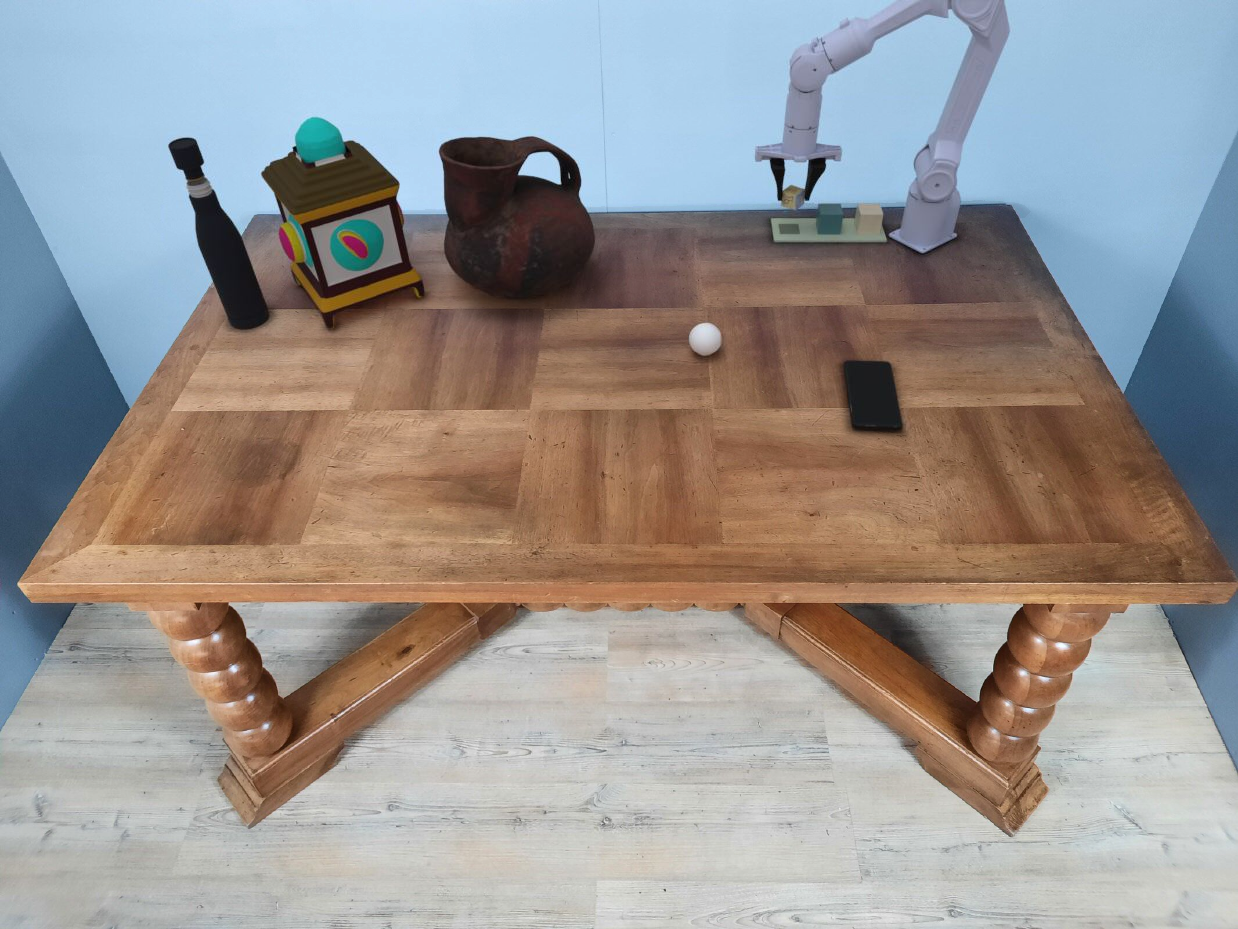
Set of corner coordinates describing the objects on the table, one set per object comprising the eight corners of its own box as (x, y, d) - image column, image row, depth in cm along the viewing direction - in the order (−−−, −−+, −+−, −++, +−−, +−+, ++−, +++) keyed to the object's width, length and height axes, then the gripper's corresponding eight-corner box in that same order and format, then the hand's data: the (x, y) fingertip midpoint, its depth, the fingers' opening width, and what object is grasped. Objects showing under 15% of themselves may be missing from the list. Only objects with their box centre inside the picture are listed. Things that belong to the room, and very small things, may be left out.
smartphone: (852, 426, 121) (843, 359, 132) (851, 430, 122) (842, 363, 132) (903, 427, 120) (890, 360, 131) (902, 432, 121) (889, 365, 132)
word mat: (879, 219, 163) (879, 217, 163) (886, 242, 157) (887, 239, 157) (770, 220, 164) (771, 217, 164) (774, 242, 158) (774, 239, 158)
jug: (618, 300, 146) (613, 156, 129) (472, 337, 140) (446, 191, 123) (569, 231, 163) (558, 95, 146) (437, 261, 157) (409, 123, 140)
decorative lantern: (392, 248, 161) (353, 81, 140) (437, 298, 149) (401, 123, 128) (285, 283, 153) (227, 112, 132) (323, 338, 141) (265, 159, 120)
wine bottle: (258, 331, 143) (190, 153, 122) (222, 327, 144) (149, 151, 123) (276, 308, 148) (214, 134, 127) (242, 305, 149) (174, 131, 128)
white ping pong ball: (724, 346, 137) (726, 319, 133) (715, 364, 133) (717, 338, 130) (693, 340, 138) (694, 314, 134) (684, 358, 135) (685, 332, 131)
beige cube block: (876, 223, 161) (879, 203, 159) (879, 234, 158) (883, 214, 156) (854, 223, 162) (857, 203, 159) (857, 234, 159) (860, 214, 156)
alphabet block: (794, 211, 156) (797, 195, 154) (780, 206, 157) (781, 190, 155) (804, 204, 157) (806, 188, 155) (789, 199, 159) (791, 183, 157)
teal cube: (837, 223, 162) (840, 203, 159) (840, 234, 159) (843, 214, 156) (815, 223, 162) (818, 203, 159) (817, 234, 159) (820, 214, 156)
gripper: (759, 133, 145) (753, 209, 154) (848, 132, 144) (836, 209, 153) (756, 115, 150) (750, 190, 159) (843, 114, 149) (831, 189, 158)
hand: (792, 198), depth 156 cm, fingers closed on alphabet block, 4 cm apart
